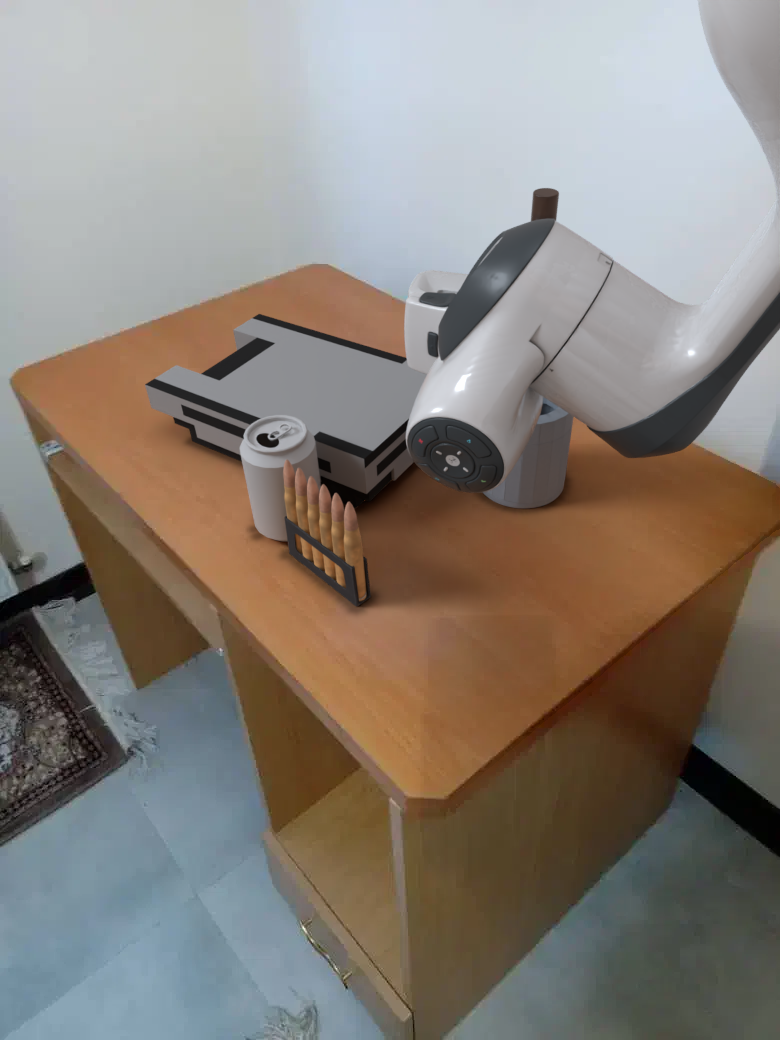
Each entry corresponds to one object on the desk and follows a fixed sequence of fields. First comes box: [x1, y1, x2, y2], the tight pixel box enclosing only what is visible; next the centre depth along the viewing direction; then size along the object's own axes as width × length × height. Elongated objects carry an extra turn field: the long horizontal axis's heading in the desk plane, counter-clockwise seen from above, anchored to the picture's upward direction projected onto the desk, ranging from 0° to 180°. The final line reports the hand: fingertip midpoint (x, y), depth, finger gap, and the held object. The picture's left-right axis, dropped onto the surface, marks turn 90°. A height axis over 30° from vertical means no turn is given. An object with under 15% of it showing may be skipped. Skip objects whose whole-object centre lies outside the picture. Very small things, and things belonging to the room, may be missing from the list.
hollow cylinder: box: [482, 398, 574, 509], centre depth 85 cm, size 10×10×11 cm
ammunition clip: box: [283, 459, 372, 607], centre depth 75 cm, size 11×2×12 cm, turn 43°
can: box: [240, 415, 321, 542], centre depth 81 cm, size 8×8×12 cm
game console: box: [144, 313, 427, 509], centre depth 95 cm, size 21×32×8 cm, turn 56°
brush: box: [530, 187, 560, 222], centre depth 74 cm, size 3×3×18 cm
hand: (539, 276), depth 74 cm, fingers closed on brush, 2 cm apart
